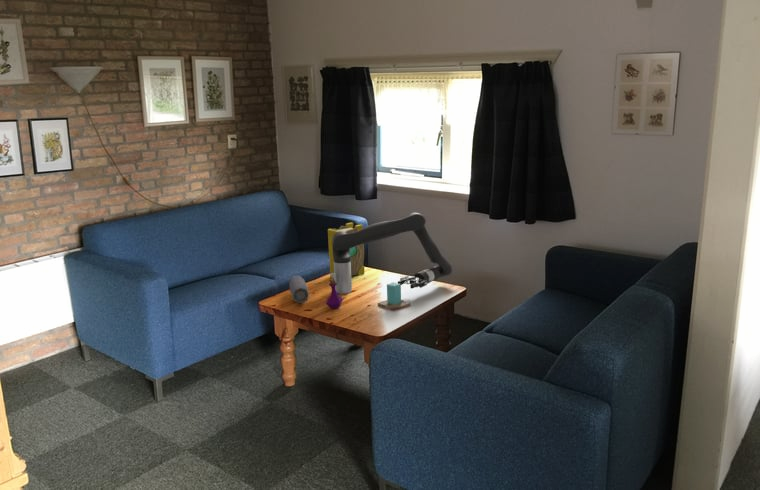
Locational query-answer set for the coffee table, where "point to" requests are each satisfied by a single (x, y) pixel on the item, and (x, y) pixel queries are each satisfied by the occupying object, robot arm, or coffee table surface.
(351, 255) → the decorative book
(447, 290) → the coffee table surface
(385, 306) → the walnut base plate
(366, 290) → the coffee table surface
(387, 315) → the coffee table surface
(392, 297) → the tall teal pillar
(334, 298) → the purple potion bottle
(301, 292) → the bluetooth speaker
